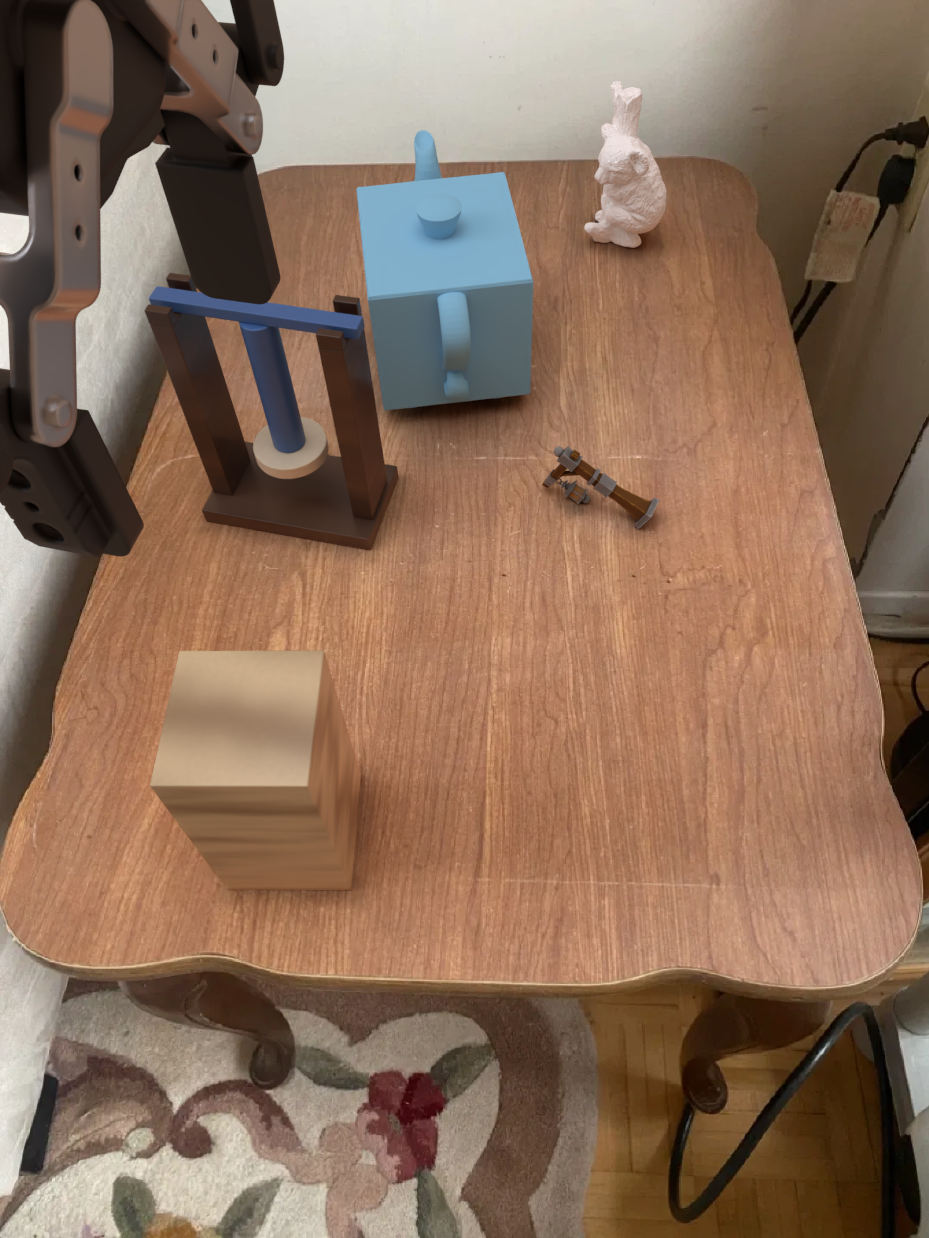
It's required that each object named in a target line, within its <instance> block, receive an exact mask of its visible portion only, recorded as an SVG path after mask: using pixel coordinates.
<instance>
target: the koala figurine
mask: <svg viewBox="0 0 929 1238" xmlns="http://www.w3.org/2000/svg"><path fill="white" fill-rule="evenodd" d="M609 87H610V91H611V100H612V105H613V108H614V111H613V115H612V119H611V120H612V121H611V123H610V122H606V123H604V124H603V125H601V128H600V130H601V131H600V132H601V138H602V139H603V141H604V143H603V146H602V147H601V150H600V152H599V154H598V157H597V161H598V163H599V164H598V168H597V170H596V172H595V174H594V177H593V178H594V179H595V181H596V182H597V183H598V184H599V185H603V186H602V188H603V189H602V194H601V196H600V204H601V205H600V207H601V209H600V210H598V211H596V213H595V214H594V219H595V221H597V222H592V221H590V222H586V223H584V224H585V225H584V227H583V228H584V231H585V232H586V233H587V234H588V236H590V237H592V240H593V242H596V243H601V244H606V243H611V242H612V243H613V244H614V245H617V246H621V247H623V248H631V249H634V248H638V247H639V246H640V245H641V244H642V239H641V237H640V235H641V234H646V233H648V232H651V231H652V230H655V228H656V227H657V226H658V224H659V223H660V222H661V221H662V219H663V218H664V215H665V213H666V206H667V193H668V192H667V187H666V184H665V182H664V181H663V176H662V174H661V169H660V167H659V165H658V163H657V162H656V161H657V160H655V157H654V156H653V154H652V151H651V149H650V148H649V145H647V144H645V143H644V142H643V141H642V140H641V139H640V137H639V136H638V131H639V123H640V122H639V121H640V114H641V110H642V101H643V93H642V90H641V88H640V87H634V86H629V87H626V88H624V87H623V82H622V81H620V80H615V81H613V82H611V84H610V85H609ZM639 234H640V235H639Z"/></svg>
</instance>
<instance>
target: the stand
mask: <svg viewBox="0 0 929 1238" xmlns="http://www.w3.org/2000/svg"><path fill="white" fill-rule="evenodd" d="M165 280H166V282H167V286H168V288H174V289H180V290H187V291H194V292H198V289H197V287H196V286H195V285H194V283H193V281H192V278H191V274H181V273H175V272H169V273H168V274H167V276H166V277H165ZM332 304H333V312H337V313H344V314H351V315H358V316H363V312H362V305H361V299H360V297H355V296H349V295H339V294H335V295H334V297H333V299H332ZM144 314H145V316H146V319H147V321H148V324H149V327H150V329H151V331H152V334H153V337H154V339H155V342H156V344H157V347H158V350H159V352H160V355H161V358H162V360H163V361H162V362H163V364H164V365H165V369H166V371H167V373H168V376H169V379H170V382H171V384H172V387H173V390H174V392H175V395H176V397H177V400H178V402H179V405H180V408H181V410H182V413H183V415H184V418H185V421H186V424H187V427H188V429H189V432H190V435H191V437H192V439H193V442H194V444H195V445H194V446H195V447H196V450H197V452H198V455H199V458H200V461H201V463H202V466H203V469H204V471H205V473H206V476H207V480H208V481H209V485H210V488H211V491H210V494H209V496H208V498H207V500H206V501H205V503H204V505H203V506H202V509H201V511H202V515H203V517H204V519H205V521H206V522H209V523H210V522H211V523H216V524H221V525H227V526H232V527H237V528H244V529H249V530H256V531H262V532H267V533H273V534H278V535H284V536H288V537H295V538H300V539H306V540H311V541H315V542H322V543H328V544H334V545H340V546H345V547H350V548H356V549H360V550H361V549H362V550H367V551H371V550H372V548H373V545H374V542H375V540H376V538H377V535H378V532H379V530H380V527H381V524H382V522H383V519H384V516H385V514H386V511H387V508H388V506H389V503H390V501H391V498H392V495H393V493H394V490H395V487H396V485H397V483H398V480H399V471H398V470H399V469H398V466H397V465H394V464H393V465H392V464H387V463H385V457H384V456H385V455H384V450H383V444H382V438H381V437H382V436H381V430H380V424H379V417H378V412H377V405H376V398H375V391H374V385H373V378H372V371H371V364H370V359H369V358H370V357H369V352H368V346H367V345H368V343H367V338H366V331H365V328H364V329H363V331H362V333H361V335H360V337H359V339H358V340H356V339H350V338H344V332H343V331H336V330H329V329H321V328H319V329H318V331H317V333H315V338H316V343H317V347H318V353H319V358H320V362H321V367H322V372H323V377H324V381H325V386H326V391H327V397H328V403H329V406H330V411H331V415H332V421H333V425H334V430H335V434H336V440H337V445H338V451H339V454H340V456H338V455H331V454H328V455H327V458H326V460H325V461H324V463H323V464H322V465H321V466H320V467H319V468H318V469H317V470H315V471H314V472H312V473H310V474H308V475H306V476H303V477H300V478H294V479H281V478H276V477H273V476H270V475H268V474H267V473H265V472H264V471H263V470H262V469H261V468H260V467H259V466H258V464H257V461H256V458H255V455H254V451H253V443H254V442H251V441H246V440H245V438H244V437H245V436H244V434H243V432H242V428H241V426H240V422H239V419H238V415H237V413H236V409H235V406H234V403H233V399H232V397H231V393H230V391H229V387H228V384H227V382H226V377H225V375H224V372H223V369H222V366H221V363H220V359H219V356H218V353H217V350H216V346H215V344H214V340H213V336H212V334H211V332H210V328H209V325H208V321H207V319H206V318H207V317H204V316H197V315H191V314H184V313H178V312H173V310H172V308H171V307H165V306H157V305H151V304H147V305H146V307H145V309H144Z"/></svg>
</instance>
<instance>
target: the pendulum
mask: <svg viewBox="0 0 929 1238" xmlns="http://www.w3.org/2000/svg"><path fill="white" fill-rule="evenodd" d="M148 301H149V303H150V305H157V306H165V307H171V308H172V310H173V312H178V313H184V314H191V315H197V316H204V317H205V318H211V319H217V320H225V321H231V322H237V323H238V326H239V328H240V332H241V336H242V340H243V343H244V346H245V350H246V353H247V356H248V361H249V364H250V367H251V371H252V375H253V378H254V381H255V385H256V388H257V391H258V396H259V400H260V403H261V406H262V410H263V413H264V416H265V420H266V423H267V424H265V425H264V426H263V427H262V428H261V429H260V430H259V431H258V432H257V434H256V435H255V437H254V439H253V442H252V443H253V451H254V455H255V458H256V461H257V464H258V466H259V467H260V468H261V469H262V470H263V471H264V472H265V473H267V474H268V475H270V476H273V477H276V478H281V479H294V478H300V477H303V476H306V475H308V474H310V473H312V472H314V471H315V470H317V469H318V468H319V467H320V466H321V465H322V464H323V463H324V461H325V460H326V458H327V455H329V449H330V447H329V441H328V435H327V433H326V431H325V429H324V427H323V426H322V425H321V424H320V423H318V422H317V421H315V420H313V419H311V418H309V417H306V416H301V413H300V409H299V405H298V400H297V397H296V392H295V388H294V385H293V380H292V375H291V373H290V368H289V363H288V360H287V359H288V358H287V355H286V353H285V347H284V343H283V339H282V335H281V331H280V329H284V330H291V331H296V332H297V331H298V332H305V333H310V334H311V333H312V334H316V333H317V331H318V329H319V328H321V329H329V330H336V331H343V332H344V338H350V339H356V340H358V339H359V337H360V335H361V333H362V331H363V329H364V330H365V328H366V327H365V320H364V316H363V315H362V316H358V315H351V314H344V313H337V312H335V311H330V310H323V309H317V308H309V307H302V306H295V305H290V304H283V303H275V302H269V301H268V302H267V303H265V304H252V303H244V302H237V301H230V300H222V299H215V298H211V297H208V296H206V295H204V294H203V293H202V292H200V291H197V292H194V291H187V290H180V289H174V288H169V287H167V286H166V287H165V286H159V285H157V286H155V288H154V290H153V291H152V292H151V294H150V295H149V297H148Z"/></svg>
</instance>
